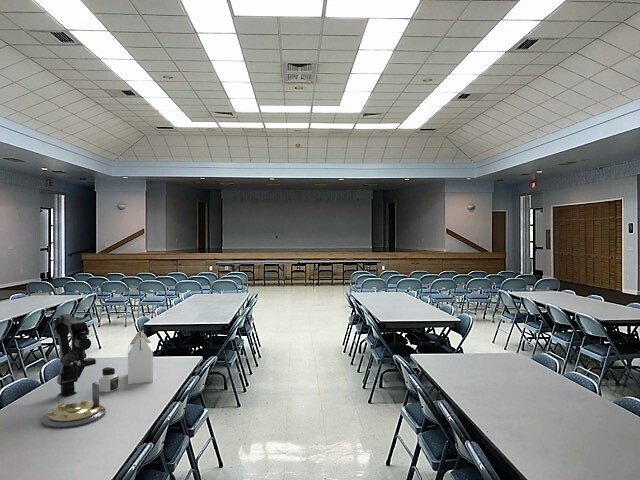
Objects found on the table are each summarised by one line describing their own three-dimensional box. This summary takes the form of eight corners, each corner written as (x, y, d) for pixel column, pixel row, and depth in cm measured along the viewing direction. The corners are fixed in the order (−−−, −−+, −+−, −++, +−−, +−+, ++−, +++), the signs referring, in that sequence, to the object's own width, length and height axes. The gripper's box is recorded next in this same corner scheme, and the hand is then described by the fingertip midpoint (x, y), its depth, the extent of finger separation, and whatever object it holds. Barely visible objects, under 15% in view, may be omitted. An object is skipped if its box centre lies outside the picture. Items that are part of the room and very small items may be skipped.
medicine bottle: (110, 392, 257) (110, 369, 257) (98, 391, 258) (98, 369, 258) (118, 388, 264) (118, 366, 264) (107, 387, 265) (106, 365, 265)
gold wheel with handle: (48, 425, 208) (48, 396, 208) (47, 410, 226) (47, 383, 226) (102, 416, 219) (102, 388, 219) (96, 402, 237) (96, 377, 237)
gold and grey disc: (28, 422, 216) (28, 417, 216) (78, 403, 240) (78, 399, 240) (69, 432, 205) (69, 427, 205) (117, 411, 229) (117, 407, 229)
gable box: (153, 382, 275) (152, 332, 275) (127, 384, 271) (127, 334, 270) (152, 371, 296) (151, 325, 296) (128, 373, 292) (128, 327, 291)
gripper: (50, 348, 239) (50, 379, 239) (77, 352, 231) (77, 384, 231) (70, 343, 249) (70, 374, 249) (96, 347, 241) (96, 378, 242)
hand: (78, 377), depth 243 cm, fingers closed
